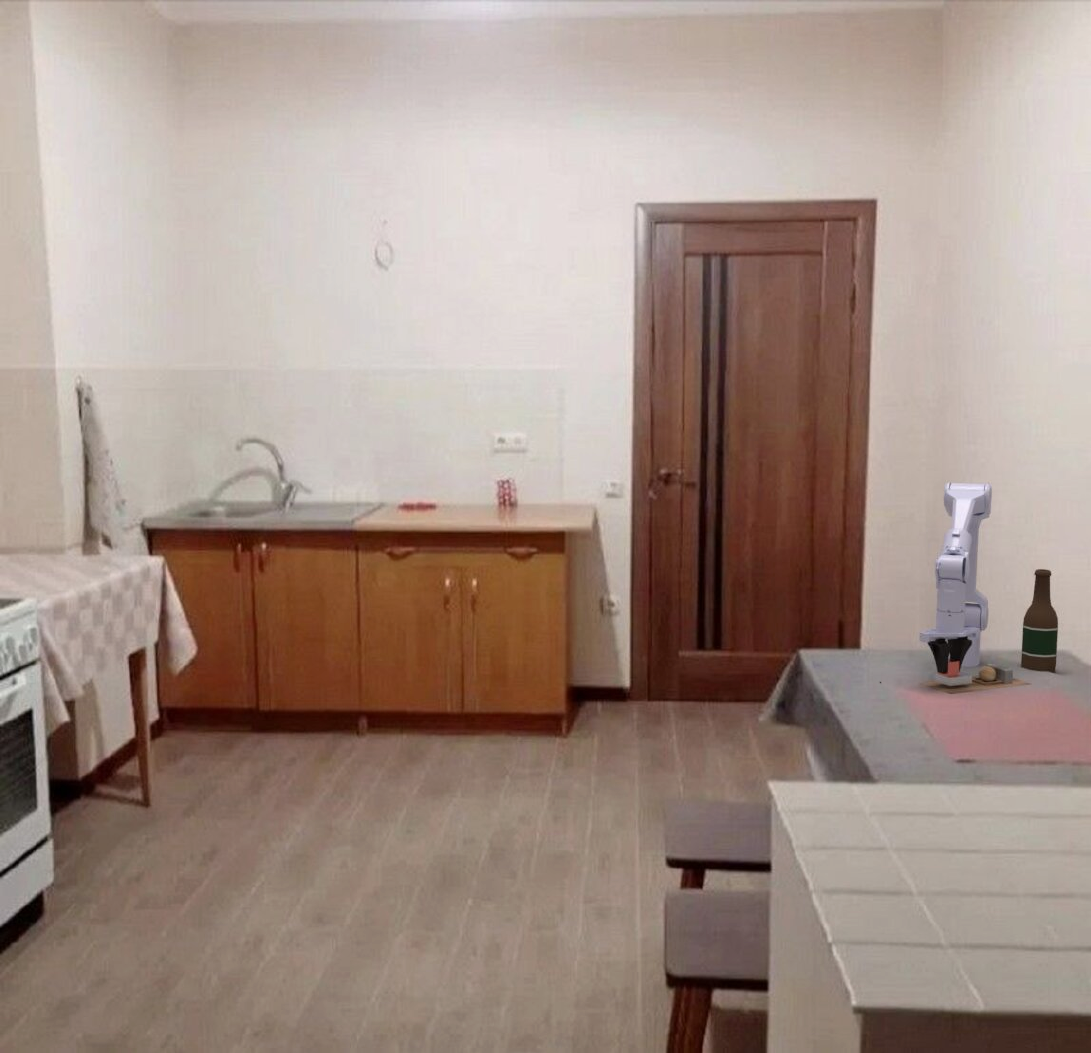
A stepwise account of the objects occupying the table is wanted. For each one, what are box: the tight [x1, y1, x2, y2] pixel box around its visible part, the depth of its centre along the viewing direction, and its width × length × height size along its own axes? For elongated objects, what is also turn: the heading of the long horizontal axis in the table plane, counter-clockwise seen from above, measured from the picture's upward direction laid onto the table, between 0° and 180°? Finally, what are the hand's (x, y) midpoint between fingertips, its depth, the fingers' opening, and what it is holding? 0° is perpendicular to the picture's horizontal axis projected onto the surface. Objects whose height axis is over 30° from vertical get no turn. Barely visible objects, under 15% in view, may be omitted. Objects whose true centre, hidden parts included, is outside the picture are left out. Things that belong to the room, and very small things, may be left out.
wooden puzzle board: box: [919, 663, 1031, 695], centre depth 241 cm, size 10×22×4 cm, turn 111°
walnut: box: [978, 665, 996, 682], centre depth 243 cm, size 4×4×4 cm
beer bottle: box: [1020, 568, 1059, 674], centre depth 254 cm, size 8×8×24 cm
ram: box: [934, 658, 973, 686], centre depth 239 cm, size 4×6×5 cm
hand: (948, 672), depth 238 cm, fingers closed on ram, 3 cm apart
